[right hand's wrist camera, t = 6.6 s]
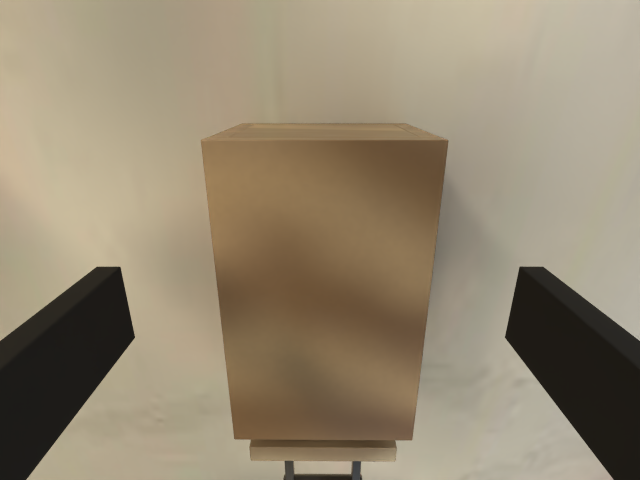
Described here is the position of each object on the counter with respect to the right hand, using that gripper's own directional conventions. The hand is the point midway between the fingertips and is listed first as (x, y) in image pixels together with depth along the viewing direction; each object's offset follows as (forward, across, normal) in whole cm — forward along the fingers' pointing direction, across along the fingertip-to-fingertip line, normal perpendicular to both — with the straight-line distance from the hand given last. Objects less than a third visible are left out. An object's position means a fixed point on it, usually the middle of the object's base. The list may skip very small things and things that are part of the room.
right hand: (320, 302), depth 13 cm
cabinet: (+14, 0, -4) cm, 15 cm away
